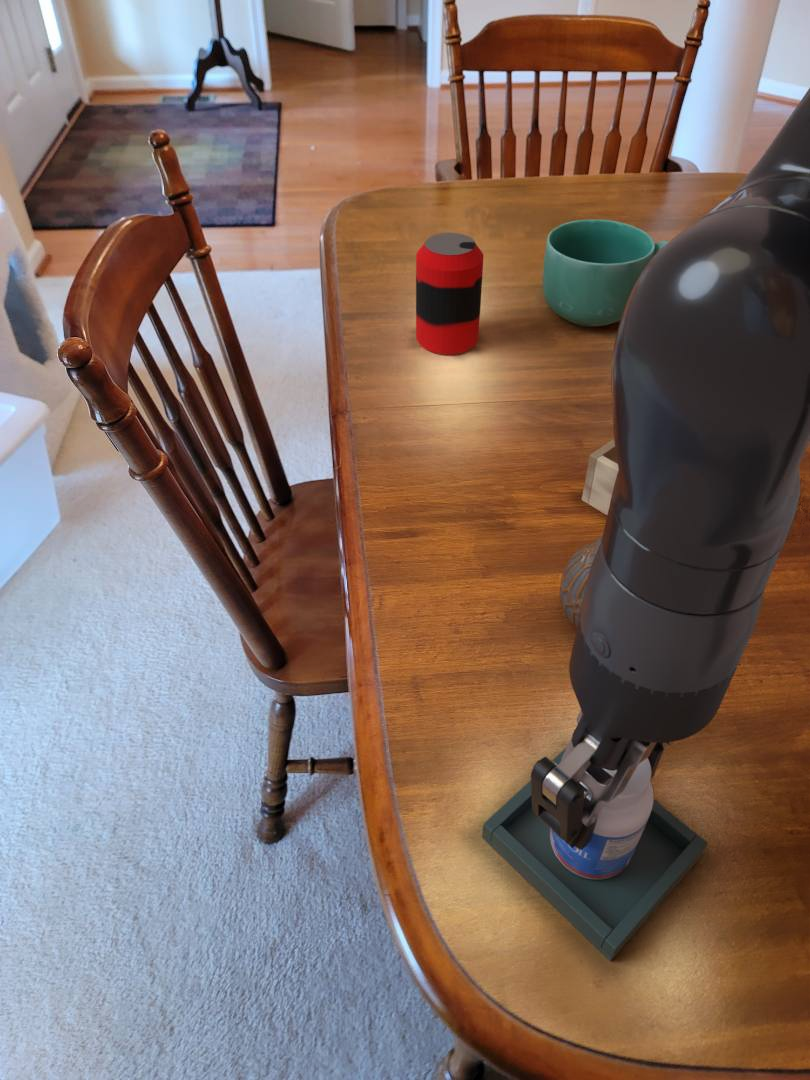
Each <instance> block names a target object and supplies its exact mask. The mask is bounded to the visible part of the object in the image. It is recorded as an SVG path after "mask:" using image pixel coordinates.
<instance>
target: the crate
mask: <svg viewBox="0 0 810 1080" xmlns="http://www.w3.org/2000/svg"><path fill="white" fill-rule="evenodd" d="M618 471H619V469H618V463H617V457H616V451H615V443H614V438H612V439H611V440H610V441H609V442H607V443H606V444H604V445H603V446H601V447H599V448H598V449H596V450H595V451H593V452H592V453H590V454H589V457H588V464H587V468H586V473H585V480H584V485H583V491H582V494H581V495H582V496H581V501H582V502H583V503H586V504H587V505H589V506H591V507H592V508H594V509H596V510H597V511H598V512H600V513H602V514H603V515H605V516H607V515H608V510H609V506H610V501H611V497H612V493H613V488H614V484H615V481H616V477H617V474H618Z"/></svg>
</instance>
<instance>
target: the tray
mask: <svg viewBox="0 0 810 1080" xmlns="http://www.w3.org/2000/svg"><path fill="white" fill-rule="evenodd" d="M566 748H567V746H566V747H565V748H564V749H563V750H562V751H561V752H560V753H558V754H557V755H556V756H555V757H554V758H553V759H552V760H551V761H554V762H555V763H557V764H559V763H560V762H561V758H562V756H563V754H564V752H565V750H566ZM550 828H551V827H549V826H548V825H547V824H546V823H545V822H544V821H543V820H542V819H541V818H539V817H538V816H537V815H536V814H535V813H534V812H533V811H532V791H531V779H530V780H529V781H528V782H527V783H526V784H525V785H524V786H522V788H520V789H519V790H518V791H517V792H516V793H515V794H514V795H513V796H512V797H511V798H509V800H507V801H506V802H505V803H504V804H503V805H502V806H501V807H499V809H498V810H497V811H495V812H494V813H493V814H492V815H491V816H490V817H489V818H488V819H487V820H485V822H483V824H482V833H481V838H482V839H483V840H484V841H485V842H486V843H487V844H488V846H490V847H491V848H492V849H493V850H494V851H495V852H496V853H497V854H498V855H499V856H501V857H502V858H503V859H504V861H505V862H506V863H508V864H509V866H511V867H512V869H514V870H515V871H516V872H517V873H518V874H519V875H520V876H521V877H522V878H523V879H524V880H525V881H526V882H527V883H528V884H530V885H531V887H532V888H533V889H535V890H536V891H537V892H538V893H539V894H540V895H541V897H543V898H544V899H545V900H546V901H547V902H548V903H549V904H550V905H551V906H552V907H553V908H554V909H555V910H556V911H557V912H558V913H559V914H561V916H563V918H564V919H566V920H567V921H568V922H569V923H570V924H571V925H572V926H573V927H574V928H575V929H576V930H577V931H578V932H579V933H580V934H581V935H582V936H583V937H584V938H585V939H586V940H587V941H588V942H590V943H591V944H592V945H593V946H594V947H595V949H597V950H598V951H599V953H601V954H602V955H603V956H604V957H605V958H606V959H607V960H608V961H609V962H611V961H613V960H614V958H615V957H616V956H617V955H618V954H619V953H620V951H621V950H622V949H624V947H625V945H626V944H627V943H628V942H629V941H630V940H631V939H632V938H633V936H635V934H636V933H637V931H639V929H640V928H641V927H643V925H644V924H645V922H646V921H647V920H648V919H649V918H650V917H651V915H652V914H653V913H654V912H655V911H656V910H657V909H658V907H659V906H660V905H661V904H662V903H663V902H664V901H665V899H666V898H667V897H668V896H669V895H670V893H671V892H672V891H674V889H675V888H676V887H677V886H678V884H679V883H680V882H681V881H682V880H683V879H684V877H685V876H686V875H687V874H688V873H689V872H690V870H691V869H692V868H693V867H694V866H695V865H696V863H697V862H698V861H699V860H700V859H701V857H702V856H703V853H705V850H706V848H707V846H708V845H709V842H708V841H707V840H705V839H704V838H703V837H702V836H700V835H699V834H698V833H697V832H696V831H694V830H693V829H692V828H691V827H689V825H687V824H686V823H684V822H683V821H682V820H680V819H679V818H678V817H677V816H676V815H675V814H673V813H672V812H671V811H669V809H667V808H666V807H665V806H663V805H662V804H661V803H659V802H658V801H657V800H656V799H655V798H653V807H652V810H651V813H650V816H649V818H648V821H647V823H646V825H645V828H644V830H643V832H642V835H641V837H640V839H639V842H638V844H637V846H636V849H635V851H634V853H633V856H632V858H631V860H630V862H629V863H628V865H627V866H626V867H625V868H624V869H623V870H622V871H621V872H620V873H618V874H617V875H615V876H613V877H610V878H607V879H600V880H594V879H587V878H583V877H580V876H578V875H576V874H574V873H572V872H571V871H569V870H568V869H567V868H566V867H565V866H563V864H562V863H561V862H560V861H559V860H558V858H557V857H556V855H555V853H554V851H553V848H552V845H551V840H550Z"/></svg>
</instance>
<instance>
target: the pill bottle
mask: <svg viewBox="0 0 810 1080" xmlns="http://www.w3.org/2000/svg"><path fill="white" fill-rule="evenodd" d="M603 769H604V768H603ZM604 770H605V771H606V772H607V773H609V774H610V775H611V776H613V777H614V775H615V773H616V771H617V770H615V771H611V770H607V769H604ZM650 779H651V765H650V762H649V760H648V758H647V759H645V760H644V761H642V762H641V763H640V764H638V766H637V768H636V769H635V771H634V773H633V775H632V776H631V778H630V780H629V782H628V783H627V785H626V787H625V789H624V790H623V792H622V793H621V794H619V795H618V796H617V797H615V798H614V799H613V800H611V801H610V802H606V803H605V805H604V806H603V808H602V810H601V812H600V813H599V817H598V819H597V822H596V825H595V828H594V831H593V835H592V838H591V841H590V842H589V843H588V844H587V845H586V846H585V847H584V848H583V849H582V850H580V849H578V848H576V847H575V846H574V847H573V848H571V847H570V846H569V845H568V844H567V843H566V842H565V841H564V840H562V839H561V838H560V837H559V836H558V835H557V834H556V833H555V832H554V831H553V830H552V828H550V840H551V845H552V848H553V851H554V853H555V855H556V857H557V858H558V860H559V861H560V862H561V863H562V864H563V866H565V867H566V868H567V869H568V870H569V871H571V872H572V873H574V874H576V875H578V876H580V877H583V878H587V879H594V880H600V879H607V878H610V877H613V876H615V875H617V874H618V873H620V872H621V871H622V870H623V869H624V868H625V867H626V866H627V865H628V863H629V862H630V860H631V858H632V856H633V853H634V851H635V849H636V846H637V844H638V842H639V839H640V837H641V835H642V832H643V830H644V828H645V825H646V823H647V821H648V818H649V816H650V813H651V810H652V807H653V799H654V790H653V784H652V782H651V780H652V779H651V780H650ZM580 784H581V785H583V786H584V787H585V788H586V789H587V790H589V794H588V796H587V798H588V799H589V800H591V798H592V796H593V794H592V791H591V790H590V789H589V788H588V787H587V786H586V785H584V784H583V783H582V782H580Z"/></svg>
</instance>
